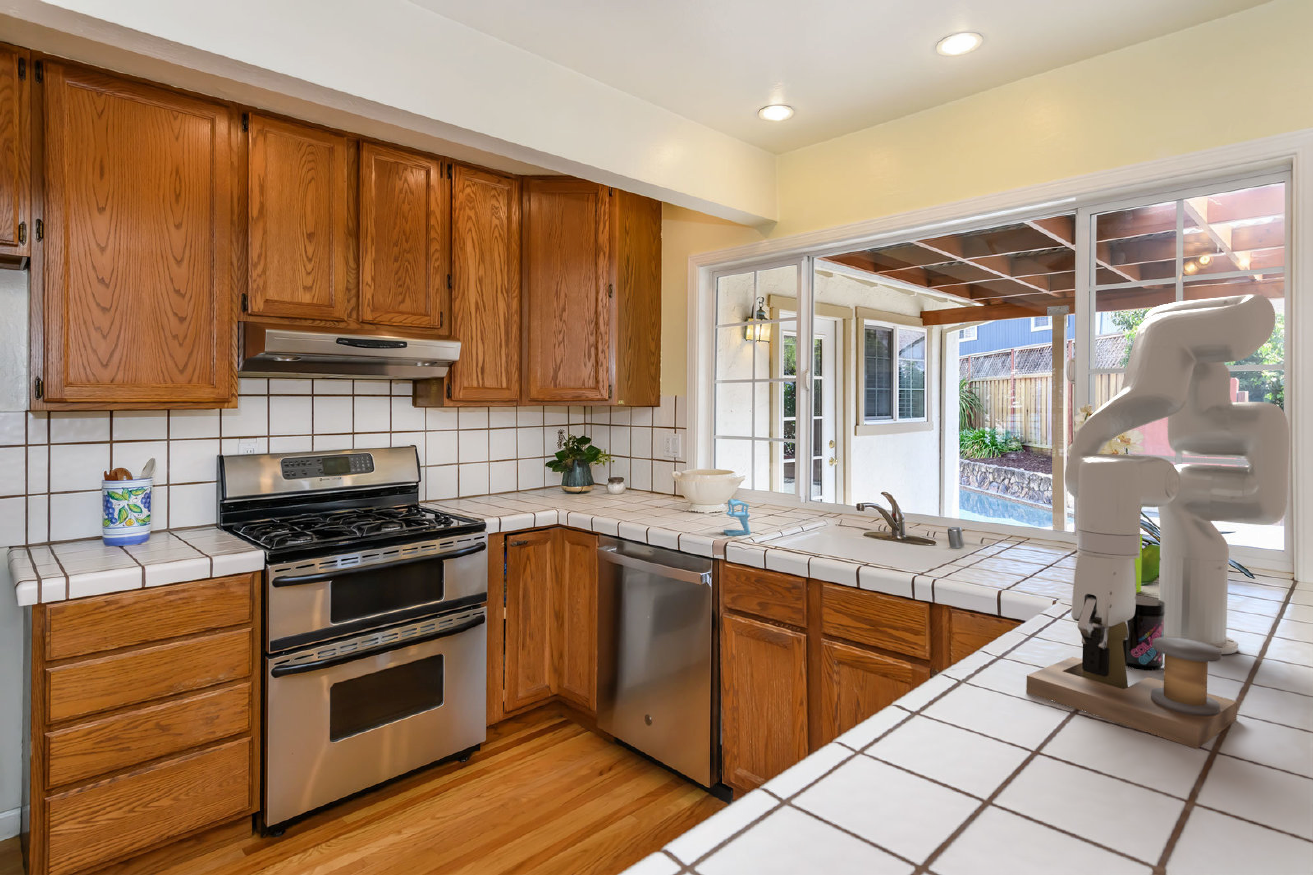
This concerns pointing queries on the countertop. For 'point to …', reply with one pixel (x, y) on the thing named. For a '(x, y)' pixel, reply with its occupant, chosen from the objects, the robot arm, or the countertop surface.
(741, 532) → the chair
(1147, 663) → the supplement container
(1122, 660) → the olive pepper mill
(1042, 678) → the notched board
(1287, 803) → the countertop surface
